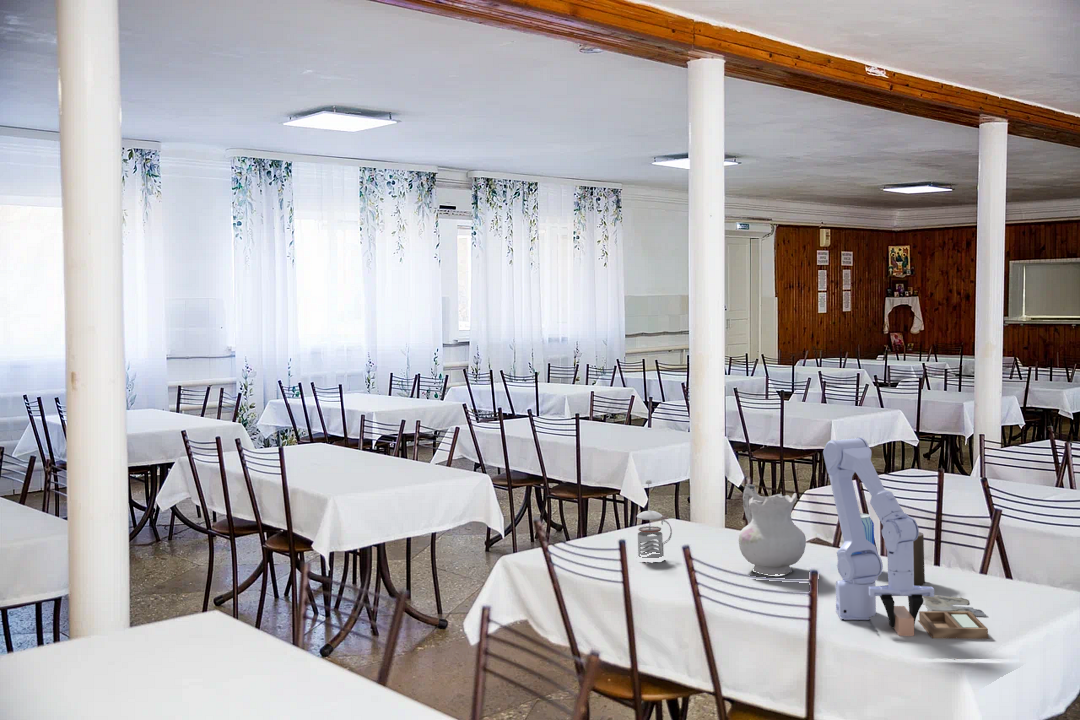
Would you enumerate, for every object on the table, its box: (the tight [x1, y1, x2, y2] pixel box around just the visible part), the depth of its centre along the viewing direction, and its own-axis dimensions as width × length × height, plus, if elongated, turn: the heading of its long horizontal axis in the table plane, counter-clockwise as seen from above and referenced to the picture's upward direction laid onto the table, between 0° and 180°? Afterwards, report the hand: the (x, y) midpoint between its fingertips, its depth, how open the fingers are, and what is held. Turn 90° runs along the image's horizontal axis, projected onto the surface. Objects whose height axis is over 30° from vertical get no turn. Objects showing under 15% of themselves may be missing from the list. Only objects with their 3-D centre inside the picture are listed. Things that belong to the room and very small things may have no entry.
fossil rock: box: [922, 594, 989, 618], centre depth 259 cm, size 18×15×2 cm
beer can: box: [851, 512, 875, 555], centre depth 300 cm, size 8×8×16 cm
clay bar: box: [892, 605, 915, 637], centre depth 242 cm, size 3×10×5 cm, turn 172°
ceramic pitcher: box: [738, 483, 807, 575], centre depth 302 cm, size 22×20×25 cm
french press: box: [636, 479, 673, 558], centre depth 320 cm, size 10×12×25 cm
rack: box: [917, 610, 991, 640], centre depth 240 cm, size 13×14×3 cm
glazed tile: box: [951, 614, 979, 628], centre depth 240 cm, size 3×10×2 cm, turn 173°
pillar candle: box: [886, 531, 926, 586], centre depth 285 cm, size 10×10×15 cm
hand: (901, 626), depth 242 cm, fingers open, 4 cm apart
